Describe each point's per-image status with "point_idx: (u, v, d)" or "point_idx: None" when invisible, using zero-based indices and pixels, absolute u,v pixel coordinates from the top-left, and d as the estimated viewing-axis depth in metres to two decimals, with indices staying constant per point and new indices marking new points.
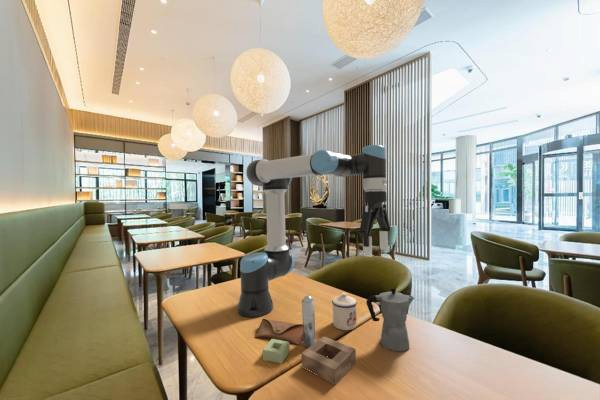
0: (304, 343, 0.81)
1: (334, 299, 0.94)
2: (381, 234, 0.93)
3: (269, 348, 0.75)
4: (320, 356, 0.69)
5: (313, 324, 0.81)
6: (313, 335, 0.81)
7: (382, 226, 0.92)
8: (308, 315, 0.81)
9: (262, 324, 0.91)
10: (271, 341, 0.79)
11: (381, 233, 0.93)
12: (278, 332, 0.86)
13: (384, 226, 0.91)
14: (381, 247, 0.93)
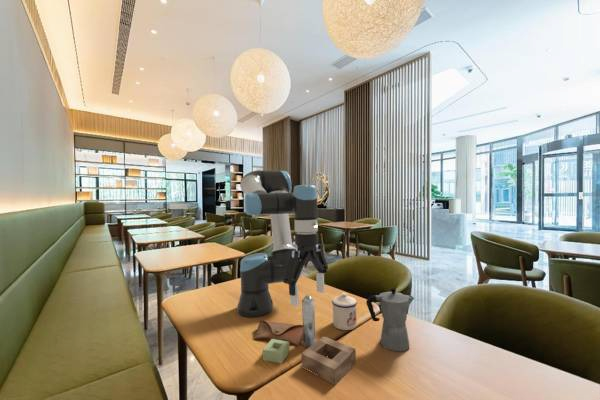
0: (304, 343, 0.81)
1: (334, 299, 0.94)
2: (318, 276, 0.87)
3: (269, 348, 0.75)
4: (320, 356, 0.69)
5: (313, 324, 0.81)
6: (313, 335, 0.81)
7: (318, 268, 0.87)
8: (308, 315, 0.81)
9: (260, 326, 0.90)
10: (271, 341, 0.79)
11: (317, 275, 0.87)
12: (277, 333, 0.85)
13: (320, 268, 0.86)
14: (318, 290, 0.88)
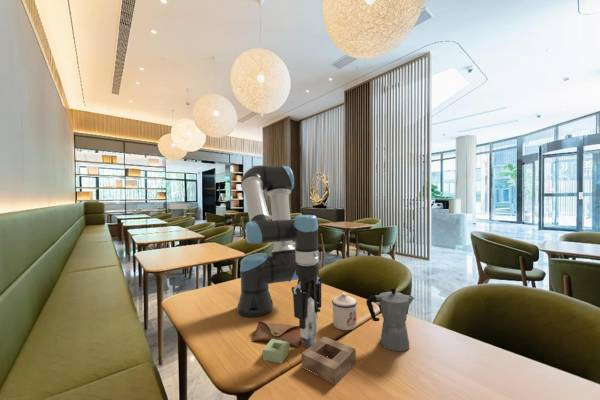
0: (304, 343, 0.82)
1: (334, 299, 0.94)
2: None
3: (269, 348, 0.75)
4: (320, 356, 0.69)
5: (313, 324, 0.81)
6: (313, 335, 0.81)
7: None
8: (308, 315, 0.81)
9: (259, 327, 0.89)
10: (271, 341, 0.79)
11: None
12: (276, 335, 0.84)
13: (314, 304, 0.84)
14: None
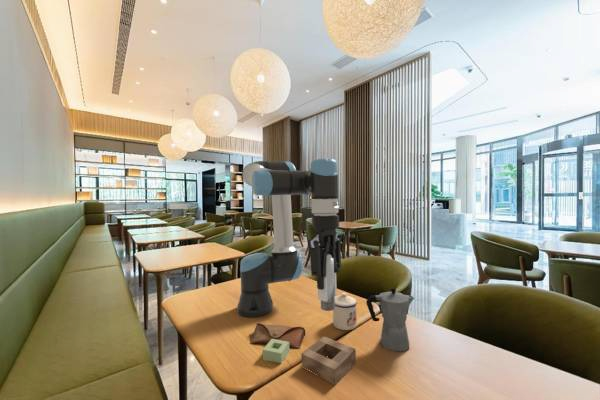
0: (322, 307, 0.70)
1: None
2: None
3: (269, 348, 0.75)
4: (320, 356, 0.69)
5: (333, 285, 0.70)
6: (333, 297, 0.70)
7: None
8: (327, 274, 0.69)
9: (257, 329, 0.88)
10: (271, 341, 0.79)
11: None
12: (275, 336, 0.83)
13: None
14: None
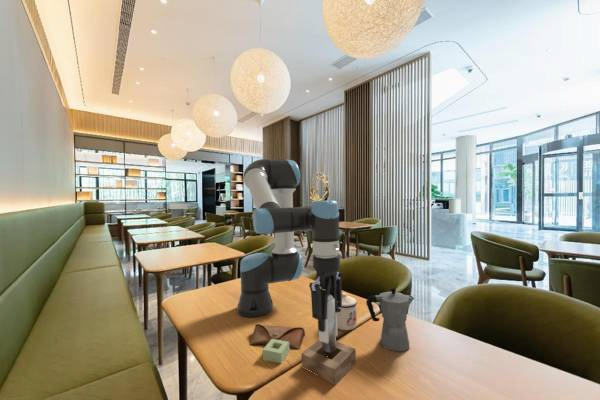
0: (323, 348, 0.70)
1: None
2: None
3: (269, 348, 0.75)
4: (320, 356, 0.69)
5: (334, 326, 0.70)
6: (334, 338, 0.70)
7: None
8: (328, 316, 0.70)
9: (256, 330, 0.87)
10: (271, 341, 0.79)
11: None
12: (275, 337, 0.82)
13: None
14: None
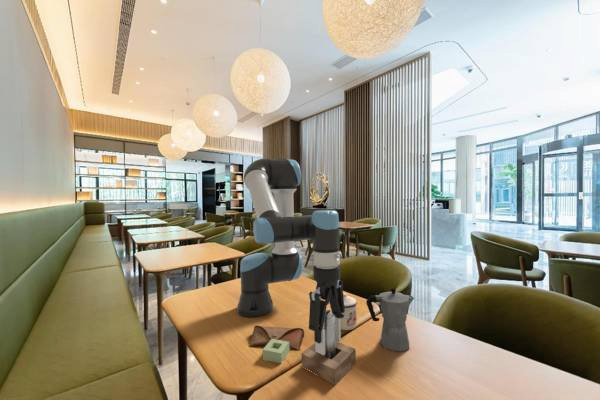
0: None
1: None
2: None
3: (269, 348, 0.75)
4: (320, 356, 0.69)
5: (334, 343, 0.70)
6: (334, 356, 0.70)
7: (334, 310, 0.74)
8: (328, 333, 0.70)
9: (255, 331, 0.86)
10: (271, 341, 0.79)
11: None
12: (275, 338, 0.82)
13: (336, 310, 0.74)
14: None
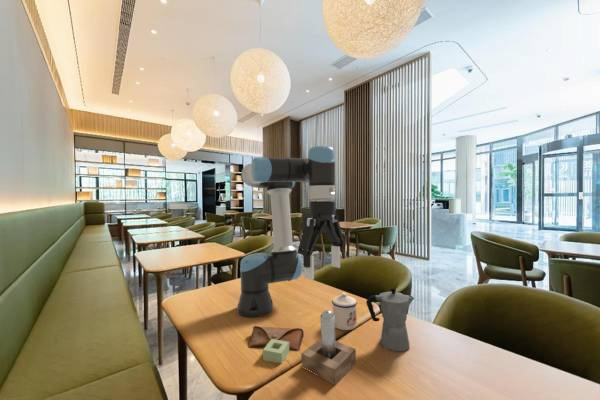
0: None
1: (334, 299, 0.94)
2: (333, 249, 0.80)
3: (269, 348, 0.75)
4: (320, 356, 0.69)
5: (334, 343, 0.70)
6: (334, 356, 0.70)
7: (334, 240, 0.79)
8: (328, 333, 0.70)
9: (255, 332, 0.86)
10: (271, 341, 0.79)
11: (333, 248, 0.80)
12: None
13: (336, 241, 0.79)
14: (333, 264, 0.80)
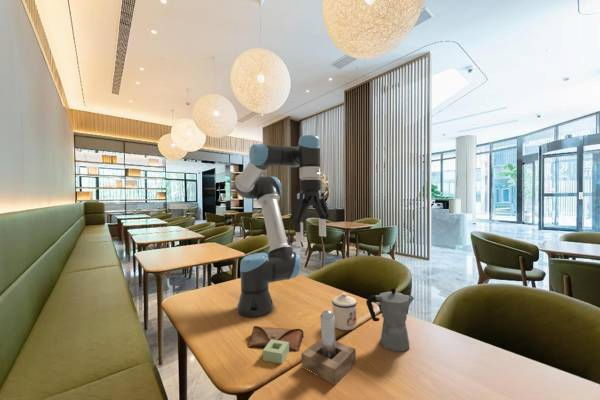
0: None
1: (334, 299, 0.94)
2: (320, 222, 0.96)
3: (269, 349, 0.75)
4: (320, 356, 0.69)
5: (334, 343, 0.70)
6: (334, 356, 0.70)
7: (320, 214, 0.95)
8: (328, 333, 0.70)
9: (254, 332, 0.86)
10: (271, 342, 0.79)
11: (320, 221, 0.96)
12: (274, 339, 0.81)
13: (322, 214, 0.95)
14: (320, 234, 0.96)
